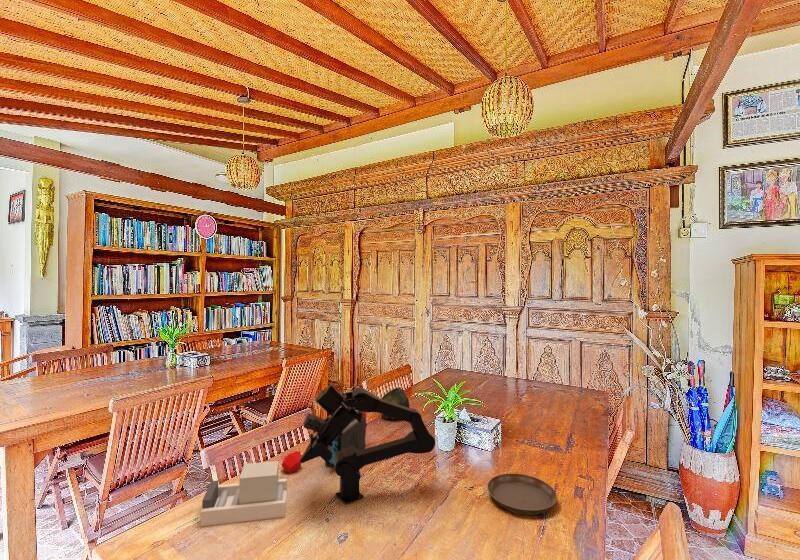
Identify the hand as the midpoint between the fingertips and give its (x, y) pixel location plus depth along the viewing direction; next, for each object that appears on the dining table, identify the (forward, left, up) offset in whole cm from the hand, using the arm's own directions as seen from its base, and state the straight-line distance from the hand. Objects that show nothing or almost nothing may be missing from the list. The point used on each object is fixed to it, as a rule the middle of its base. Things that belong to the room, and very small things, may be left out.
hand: (301, 461), depth 123 cm
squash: (+43, -68, -12) cm, 82 cm away
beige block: (+4, +11, -9) cm, 15 cm away
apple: (+21, -6, -12) cm, 25 cm away
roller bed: (+6, +14, -12) cm, 20 cm away
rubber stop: (+11, +23, -11) cm, 27 cm away
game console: (+19, -27, -12) cm, 35 cm away
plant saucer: (-39, -55, -13) cm, 69 cm away
